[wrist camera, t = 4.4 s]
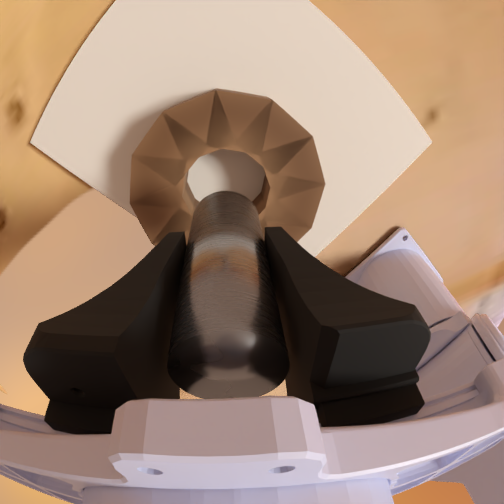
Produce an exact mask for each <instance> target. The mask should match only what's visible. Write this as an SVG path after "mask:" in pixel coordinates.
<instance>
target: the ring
mask: <svg viewBox="0 0 504 504" xmlns="http://www.w3.org/2000/svg"><path fill="white" fill-rule="evenodd" d="M220 149H226V150H232V151H239V152H245V153H247V154H248V155H249V156H250V157H252V158H253V159H254V160H255V161H256V162H258V163H259V164H260V165H261V166H263V169H264V171H265V177H264V181H263V186H262V190H261V192H260V194H259V195H258V196H257V197H256V198H255V199H254V200H253V201H252V203H253V204H254V205H255V207H256V209H257V211H258V215H259V219H260V224H261V228H262V233H263V238H264V242H265V227H282V228H283V229H284V230H285V231H286V232H287V233H288V234H289V235H290V236H291V237H292V238H293V239H294V240H295V241H296V242H298V241H299V240H300V239H301V238H302V237H303V236H304V235H305V234H306V233H307V232H308V231H309V230H310V229H311V228H312V226H313V222H314V219H315V216H316V213H317V210H318V207H319V203H320V200H321V197H322V194H323V190H324V187H325V184H326V183H325V180H324V176H323V172H322V168H321V164H320V161H319V157H318V153H317V149H316V146H315V142H314V138H313V136H312V135H311V134H310V133H309V132H308V131H307V130H306V129H305V128H303V127H302V126H301V125H300V124H299V123H298V122H297V121H296V120H295V119H294V118H293V117H291V116H290V115H289V114H288V113H287V112H286V111H285V110H284V109H282V108H281V107H280V106H279V105H278V104H277V103H276V102H274V101H273V100H272V99H270V98H269V97H267V96H261V95H255V94H250V93H244V92H238V91H232V90H226V89H219V88H217V89H214V90H211V91H209V92H206V93H203V94H201V95H198V96H196V97H193V98H191V99H188V100H186V101H183V102H181V103H179V104H176V105H174V106H172V107H169V108H168V109H166V110H164V111H163V112H162V113H161V115H160V116H159V117H158V119H157V120H156V121H155V123H154V124H153V125H152V127H151V128H150V129H149V131H148V132H147V134H146V135H145V137H144V138H143V139H142V141H141V142H140V144H139V145H138V147H137V148H136V150H135V151H134V153H133V154H132V158H131V177H130V205H131V207H132V209H133V211H134V213H135V214H136V216H137V218H138V220H139V222H140V223H141V225H142V227H143V229H144V231H145V232H146V234H147V236H148V238H149V239H150V241H151V243H152V244H153V245H155V246H156V245H157V244H158V243H159V242H160V241H161V240H162V239H163V238H164V237H165V236H166V235H167V234H168V233H169V232H184V231H185V238H186V245H187V242H188V237H189V232H190V227H191V222H192V218H193V213H194V210H195V208H196V206H197V205H198V203H199V201H198V200H196V199H195V197H194V195H193V193H192V191H191V189H190V186H189V184H188V182H187V179H188V171H189V169H190V168H191V167H192V165H193V164H194V163H195V162H196V160H197V159H198V158H199V157H201V156H204V155H206V154H209V153H212V152H214V151H217V150H220Z"/></svg>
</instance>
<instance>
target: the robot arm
mask: <svg viewBox="0 0 504 504" xmlns="http://www.w3.org/2000/svg"><path fill="white" fill-rule="evenodd" d="M405 235H406V236H405ZM404 236H405V237H404ZM403 237H404V238H403ZM186 247H187V245H186V238H185V231H184V232H169V233H168V234H167V235H166V236H165V237H164V238H163V239H162V240H161V241H160V242H159V243H158V244H157V245H156V246H155V247H154V248H153V249H152V250H151V252H149V253H148V254H147V255H146V256H145V258H143V259H142V260H141V261H140V262H139V263H138V264H137V265H136V266H135V267H134V268H133V269H131V270H130V271H129V272H128V273H127V274H126V275H125V276H123V277H122V278H121V279H120V280H118V281H117V282H116V283H114V284H113V285H112V286H110V287H109V288H107V289H106V290H104V291H103V292H101V293H100V294H98V295H96V296H95V297H93V298H92V299H90V300H89V301H87V302H85V303H83V304H81V305H79V306H77V307H76V308H74V309H71V310H70V311H68V312H65V313H63V314H61V315H58V316H56V317H54V318H51V319H49V320H46V321H44V322H41V323H39V324H38V326H37V328H36V330H35V332H34V334H33V336H32V338H31V340H30V342H29V344H28V347H27V349H26V351H25V353H24V357H23V362H24V365H25V368H26V370H27V372H28V373H29V375H30V376H31V377H32V379H33V380H34V381H35V383H36V384H37V385H38V386H39V387H40V389H41V390H42V391H43V392H44V393H45V395H46V396H47V397H48V398H49V399H50V401H49V404H48V408H47V411H46V415H45V416H43V415H39V414H35V413H31V412H27V411H23V410H19V409H16V408H12V407H9V406H5V405H2V404H0V474H1V475H3V476H5V477H7V478H9V479H12V480H14V481H16V482H18V483H21V484H23V485H25V486H28V487H30V488H32V489H35V490H37V491H40V492H42V493H45V494H47V495H50V496H53V497H56V498H59V499H61V500H64V501H67V502H71V503H74V504H394V502H393V498H392V495H395V494H397V493H400V492H403V491H405V490H408V489H410V488H413V487H415V486H417V485H420V484H422V483H424V482H427V481H429V480H431V481H443V482H457V483H463V484H464V486H465V487H466V489H467V491H468V493H469V494H470V496H471V498H472V500H473V502H474V503H475V504H504V336H503V334H502V333H501V332H500V330H499V329H498V328H497V326H496V325H495V324H494V323H493V321H492V320H491V319H490V318H489V316H488V315H486V314H481V315H479V314H475V315H474V316H473V317H472V318H471V319H470V318H469V317H468V316H467V315H466V314H465V312H464V311H463V309H462V308H461V307H460V305H459V304H458V303H457V301H456V300H455V299H454V297H453V296H452V295H451V293H450V292H449V291H448V289H447V288H446V287H445V285H444V284H443V279H442V277H441V276H440V274H439V273H438V272H437V270H436V269H435V267H434V266H433V265H432V263H431V262H430V260H429V259H428V258H427V256H426V255H425V254H424V252H423V251H422V250H421V248H420V247H419V246H418V244H417V243H416V242H415V240H414V239H413V238H412V237H411V235H410V234H409V233H408V232H407V230H406V229H405V228H404V227H400V228H398V229H397V230H396V231H395V232H394V233H393V234H392V235H391V236H390V237H389V238H388V239H387V240H385V241H384V242H383V243H382V244H381V245H380V246H379V247H378V248H377V249H376V250H375V251H374V252H373V253H371V254H370V255H369V256H368V257H367V258H366V259H365V260H364V261H363V262H361V263H360V264H359V265H358V266H357V267H356V268H355V269H354V270H352V271H351V272H350V273H349V274H348V275H347V276H346V277H343V276H341V275H340V274H338V273H336V272H335V271H333V270H332V269H330V268H329V267H327V266H326V265H324V264H323V263H321V262H320V261H319V260H318V259H316V258H315V257H314V256H312V255H311V254H310V253H309V252H307V251H306V250H305V249H304V248H303V247H302V246H301V245H300V244H298V243H297V242H296V241H295V240H294V239H293V238H292V237H291V236H290V235H289V234H288V233H287V232H286V231H285V230H284V229H283V228H282V227H265V247H266V252H267V256H268V261H269V265H270V270H271V275H272V279H273V284H274V289H275V294H276V298H277V303H278V308H279V313H280V317H281V322H282V327H283V332H284V337H285V342H286V346H287V351H288V356H289V361H290V368H289V372H288V375H287V376H286V378H285V380H286V388H287V396H260V397H246V398H226V399H180V387H178V386H177V385H176V384H175V383H174V382H173V380H172V379H171V377H170V376H169V373H168V370H167V361H168V354H169V347H170V340H171V333H172V327H173V320H174V314H175V308H176V302H177V296H178V290H179V284H180V279H181V273H182V268H183V262H184V257H185V252H186Z"/></svg>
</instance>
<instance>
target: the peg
mask: <svg viewBox="0 0 504 504" xmlns="http://www.w3.org/2000/svg"><path fill="white" fill-rule="evenodd" d="M289 368H290V361H289V356H288V351H287V346H286V342H285V337H284V332H283V327H282V322H281V317H280V313H279V308H278V303H277V298H276V294H275V289H274V284H273V279H272V275H271V270H270V265H269V261H268V256H267V252H266V247H265V242H264V238H263V233H262V228H261V224H260V219H259V215H258V211H257V209H256V207H255V205H254V204H253V203H252V201H251V200H249V199H248V198H247V197H246V196H244V195H242V194H240V193H237V192H234V191H218V192H214V193H212V194H209V195H208V196H206V197H205V198H203V199H202V200H201V201H200V202H199V203H198V205H197V206H196V208H195V210H194V213H193V218H192V222H191V227H190V232H189V237H188V242H187V247H186V252H185V257H184V262H183V268H182V273H181V279H180V284H179V290H178V296H177V302H176V308H175V314H174V320H173V327H172V333H171V340H170V347H169V354H168V361H167V370H168V373H169V376H170V377H171V379H172V380H173V382H174V383H175V384H176V385H177V386H178V387H180V388H181V389H182V390H184V391H186V392H187V393H189V394H192V395H194V396H197V397H200V398H203V399H226V398H246V397H259V396H262V395H264V394H266V393H268V392H270V391H272V390H273V389H275V388H276V387H278V386H279V385H280V384H281V383H282V382H283V381H284V379H285V378H286V376H287V375H288V372H289Z"/></svg>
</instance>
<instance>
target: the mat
mask: <svg viewBox="0 0 504 504" xmlns="http://www.w3.org/2000/svg"><path fill="white" fill-rule="evenodd" d="M217 88H219V89H226V90H232V91H238V92H244V93H250V94H255V95H261V96H267V97H269V98H270V99H272V100H273V101H274V102H276V103H277V104H278V105H279V106H280V107H281V108H282V109H284V110H285V111H286V112H287V113H288V114H289V115H290V116H291V117H293V118H294V119H295V120H296V121H297V122H298V123H299V124H300V125H301V126H302V127H303V128H305V129H306V130H307V131H308V132H309V133H310V134H311V135H312V136H313V138H314V142H315V146H316V149H317V153H318V157H319V161H320V164H321V168H322V172H323V176H324V180H325V183H326V184H325V187H324V190H323V194H322V197H321V200H320V203H319V207H318V210H317V213H316V216H315V219H314V222H313V226H312V228H311V229H310V230H309V231H308V232H307V233H306V234H305V235H304V236H303V237H302V238H301V239H300V240H299V241H298V242H297V243H298V244H300V245H301V246H302V247H303V248H304V249H305V250H306V251H307V252H309V253H310V254H311V255H312V256H314V257H316V256H317V255H318V254H319V253H320V252H321V251H322V250H323V249H324V248H325V247H326V246H327V245H328V244H330V243H331V242H332V241H333V240H334V239H335V238H336V237H337V236H338V235H339V234H340V233H341V232H342V231H343V230H344V229H346V228H347V227H348V226H349V225H350V224H351V223H352V222H353V221H354V220H355V219H356V218H357V217H358V216H359V215H360V214H361V213H362V212H363V211H364V210H365V209H366V208H367V207H369V206H370V205H371V204H372V203H373V202H374V201H375V200H376V199H377V198H378V197H379V196H380V195H381V194H382V193H383V192H384V191H385V190H386V189H387V188H388V187H389V186H390V185H391V184H392V183H393V182H394V181H395V180H396V179H397V178H398V177H399V176H400V175H401V174H402V173H403V172H404V171H405V170H406V169H407V168H408V167H409V166H410V165H411V164H412V163H413V162H414V161H415V160H416V159H417V158H418V157H419V156H420V155H421V154H422V152H423V151H424V150H425V149H426V148H427V147H428V146H429V145H430V144H431V143H432V141H431V139H430V138H429V136H428V135H427V133H426V132H425V130H424V129H423V127H422V126H421V124H420V123H419V121H418V120H417V119H416V117H415V116H414V114H413V113H412V112H411V110H410V109H409V108H408V106H407V105H406V103H405V102H404V101H403V100H402V98H401V97H400V96H399V94H398V93H397V92H396V91H395V89H394V88H393V87H392V86H391V84H390V83H389V82H388V81H387V79H386V78H385V77H384V76H383V75H382V73H381V72H380V71H379V70H378V69H377V68H376V66H375V65H374V64H373V63H372V62H371V61H370V60H369V59H368V57H367V56H366V55H365V54H364V53H363V52H362V51H361V50H360V49H359V48H358V47H357V46H356V45H355V44H354V42H353V41H352V40H351V39H350V38H349V37H348V36H347V35H346V34H345V33H344V32H343V31H342V30H341V29H340V28H339V27H337V26H336V25H335V24H334V23H333V22H332V21H331V20H330V19H329V18H328V17H327V16H326V15H325V14H324V13H322V12H321V11H320V10H319V9H318V8H317V7H316V6H315V5H313V4H312V3H311V2H310V1H309V0H116V1H115V2H114V3H113V4H112V6H111V7H110V8H109V9H108V11H107V12H106V13H105V14H104V16H103V17H102V18H101V20H100V21H99V22H98V24H97V25H96V26H95V28H94V29H93V31H92V32H91V33H90V35H89V36H88V38H87V39H86V41H85V42H84V43H83V45H82V46H81V48H80V49H79V51H78V53H77V54H76V56H75V57H74V59H73V60H72V62H71V64H70V65H69V67H68V69H67V70H66V72H65V74H64V75H63V77H62V79H61V81H60V82H59V84H58V86H57V88H56V89H55V91H54V93H53V95H52V97H51V99H50V101H49V103H48V105H47V107H46V109H45V111H44V113H43V115H42V117H41V119H40V121H39V123H38V125H37V128H36V130H35V132H34V134H33V137H32V139H31V141H30V143H31V144H33V145H34V146H35V147H37V148H38V149H40V150H41V151H42V152H44V153H45V154H46V155H48V156H49V157H51V158H52V159H53V160H55V161H56V162H58V163H59V164H60V165H62V166H63V167H65V168H66V169H67V170H69V171H70V172H72V173H73V174H74V175H76V176H77V177H79V178H80V179H82V180H83V181H84V182H86V183H87V184H89V185H90V186H92V187H93V188H94V189H96V190H97V191H99V192H100V193H102V194H103V195H105V196H106V197H107V198H109V199H110V200H112V201H113V202H115V203H116V204H118V205H119V206H121V207H122V208H124V209H125V210H127V211H128V212H130V213H131V214H133V215H134V216H135V217H137V216H136V214H135V213H134V211H133V209H132V207H131V205H130V177H131V158H132V154H133V153H134V151H135V150H136V148H137V147H138V145H139V144H140V142H141V141H142V139H143V138H144V137H145V135H146V134H147V132H148V131H149V129H150V128H151V127H152V125H153V124H154V123H155V121H156V120H157V119H158V117H159V116H160V115H161V113H162V112H163V111H164V110H166V109H168V108H169V107H172V106H174V105H176V104H179V103H181V102H183V101H186V100H188V99H191V98H193V97H196V96H198V95H201V94H203V93H206V92H209V91H211V90H214V89H217ZM264 177H265V171H264V169H263V166H261V165H260V164H259V163H258V162H256V161H255V160H254V159H253V158H252V157H250V156H249V155H248V154H247V153H245V152H239V151H232V150H226V149H220V150H217V151H214V152H212V153H209V154H206V155H204V156H201V157H199V158H198V159H197V160H196V162H195V163H194V164H193V165H192V167H191V168H190V169H189V171H188V179H187V182H188V184H189V186H190V189H191V191H192V193H193V195H194V197H195V199H196V200H198V201H199V202H200V201H201V200H202V199H203V198H205V197H206V196H208V195H209V194H212V193H214V192H218V191H234V192H237V193H240V194H242V195H244V196H246V197H247V198H248V199H249V200H251V201H253V200H254V199H255V198H256V197H257V196H258V195H259V194H260V192H261V190H262V186H263V181H264Z"/></svg>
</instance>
